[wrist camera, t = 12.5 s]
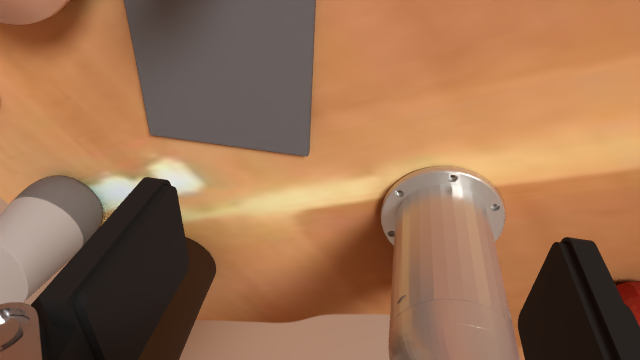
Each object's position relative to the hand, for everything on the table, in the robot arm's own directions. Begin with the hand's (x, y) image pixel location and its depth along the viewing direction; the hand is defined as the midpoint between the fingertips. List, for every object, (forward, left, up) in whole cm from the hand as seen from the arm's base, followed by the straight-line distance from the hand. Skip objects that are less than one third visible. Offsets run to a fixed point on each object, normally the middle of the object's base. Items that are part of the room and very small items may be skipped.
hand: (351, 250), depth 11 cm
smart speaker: (-28, +36, -31) cm, 55 cm away
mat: (-8, +15, -30) cm, 35 cm away
